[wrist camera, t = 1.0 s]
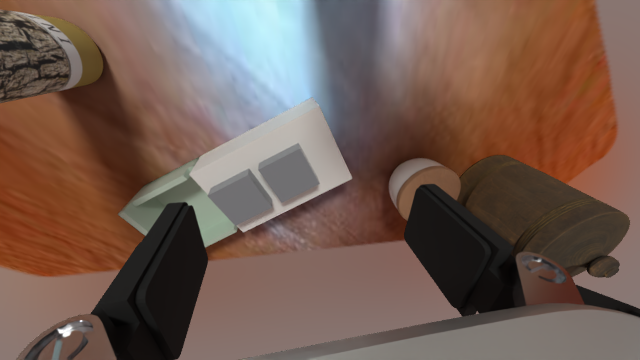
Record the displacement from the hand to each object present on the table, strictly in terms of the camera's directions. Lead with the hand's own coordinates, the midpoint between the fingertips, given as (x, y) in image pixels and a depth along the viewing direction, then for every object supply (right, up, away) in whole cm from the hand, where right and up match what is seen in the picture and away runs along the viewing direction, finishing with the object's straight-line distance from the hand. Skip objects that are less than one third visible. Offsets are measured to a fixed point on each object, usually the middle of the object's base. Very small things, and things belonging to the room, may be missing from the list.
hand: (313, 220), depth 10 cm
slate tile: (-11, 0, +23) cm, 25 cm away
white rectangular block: (-7, +5, +28) cm, 29 cm away
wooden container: (+35, 0, +39) cm, 53 cm away
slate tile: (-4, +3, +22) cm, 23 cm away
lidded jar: (+17, +3, +34) cm, 38 cm away
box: (-20, -2, +29) cm, 35 cm away
